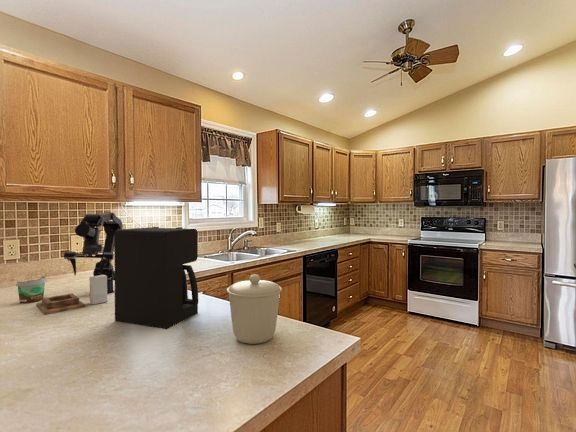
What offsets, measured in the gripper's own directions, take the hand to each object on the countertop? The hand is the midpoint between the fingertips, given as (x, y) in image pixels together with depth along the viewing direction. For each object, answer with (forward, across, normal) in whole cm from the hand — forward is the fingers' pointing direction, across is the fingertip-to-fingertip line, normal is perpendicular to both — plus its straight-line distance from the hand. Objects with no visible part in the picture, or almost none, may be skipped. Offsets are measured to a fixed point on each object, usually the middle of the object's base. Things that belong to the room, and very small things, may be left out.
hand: (87, 275), depth 139 cm
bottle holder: (+13, -9, +6) cm, 17 cm away
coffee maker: (+19, +27, -31) cm, 45 cm away
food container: (+10, -19, +22) cm, 31 cm away
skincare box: (+12, +5, +4) cm, 14 cm away
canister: (+26, +49, -67) cm, 87 cm away
